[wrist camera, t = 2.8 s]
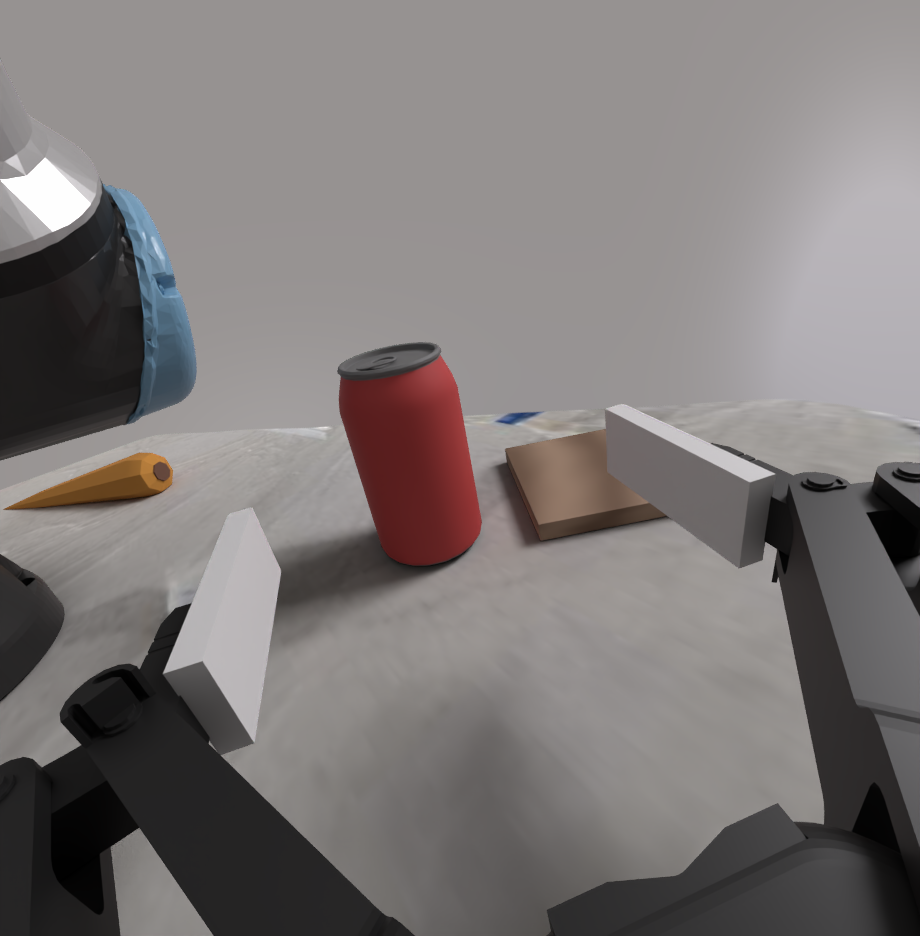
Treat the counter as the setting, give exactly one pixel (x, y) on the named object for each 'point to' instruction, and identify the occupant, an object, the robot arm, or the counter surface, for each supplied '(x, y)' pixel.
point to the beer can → (411, 451)
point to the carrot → (108, 483)
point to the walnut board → (573, 486)
